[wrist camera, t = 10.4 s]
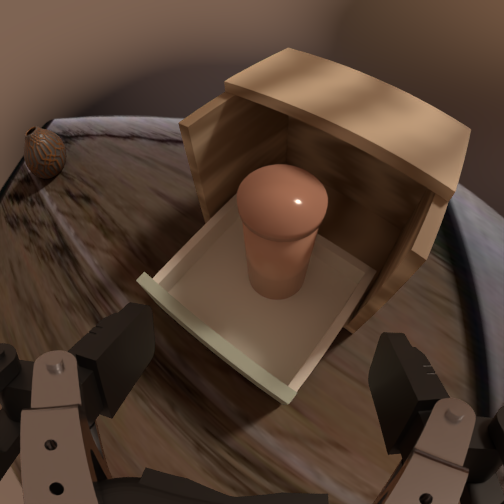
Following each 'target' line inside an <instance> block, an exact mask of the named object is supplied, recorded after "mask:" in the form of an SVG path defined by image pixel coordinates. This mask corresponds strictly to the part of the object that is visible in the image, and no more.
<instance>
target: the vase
mask: <svg viewBox="0 0 504 504" xmlns="http://www.w3.org/2000/svg"><path fill="white" fill-rule="evenodd" d="M24 158H25V162H26V165H27V167H28V168H29V170H30V171H31V172H32V173H33V174H34V175H35V176H37V177H39V178H43V179H49V178H53V177H55V176H56V175H57V174H59V173H60V172H61V170H62V169H63V167H64V165H65V162H66V149H65V146H64V144H63V142H62V140H61V139H60V137H59V136H58V135H56V134H55V133H54V132H52V131H49V130H45V129H41V128H39V127H38V126H33V127H31V128H30V129H29V130H28V131H27V132H26V134H25V147H24Z"/></svg>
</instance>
